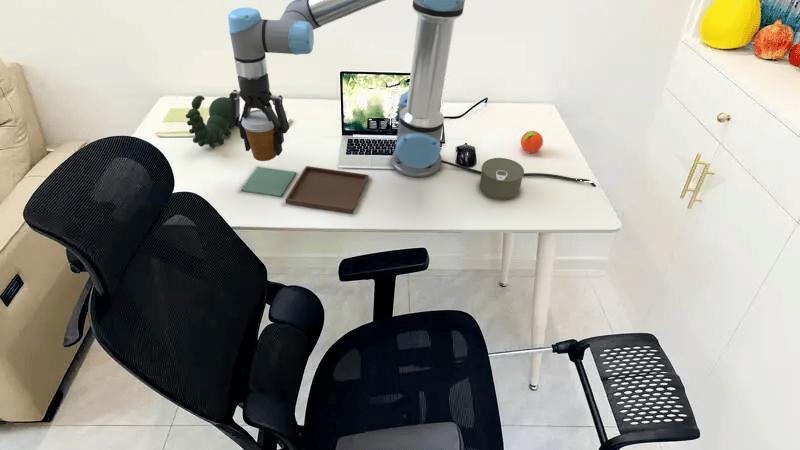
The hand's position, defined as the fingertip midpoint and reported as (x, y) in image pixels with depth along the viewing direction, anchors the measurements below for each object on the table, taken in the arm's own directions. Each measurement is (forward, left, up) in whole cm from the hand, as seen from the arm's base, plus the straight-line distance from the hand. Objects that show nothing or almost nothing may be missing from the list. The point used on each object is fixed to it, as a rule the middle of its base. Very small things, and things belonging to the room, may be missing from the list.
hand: (264, 150), depth 150 cm
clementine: (-74, -36, -11) cm, 83 cm away
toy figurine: (+25, -20, -11) cm, 34 cm away
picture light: (+9, -34, -11) cm, 37 cm away
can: (-66, -13, -11) cm, 68 cm away
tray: (-18, 0, -11) cm, 21 cm away
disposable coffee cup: (0, 0, -2) cm, 2 cm away
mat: (0, 0, -11) cm, 11 cm away
